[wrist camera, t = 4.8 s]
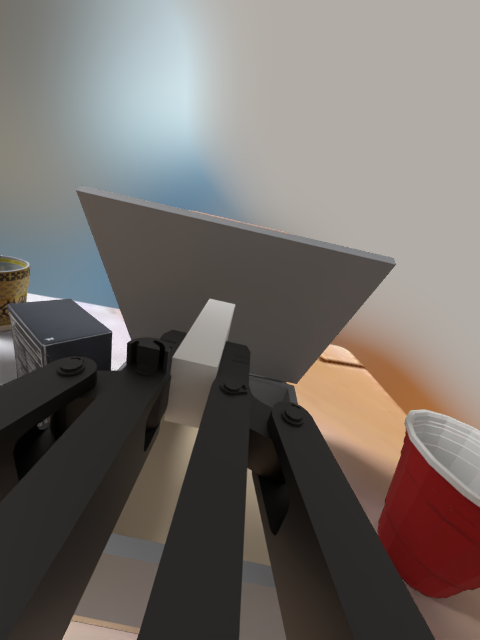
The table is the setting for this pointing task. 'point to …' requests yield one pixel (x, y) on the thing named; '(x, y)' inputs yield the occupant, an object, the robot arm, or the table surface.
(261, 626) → the grey open rectangular box
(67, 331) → the small box
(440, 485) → the plastic cup
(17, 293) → the ceramic cup
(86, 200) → the lid
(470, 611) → the table surface
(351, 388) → the table surface
